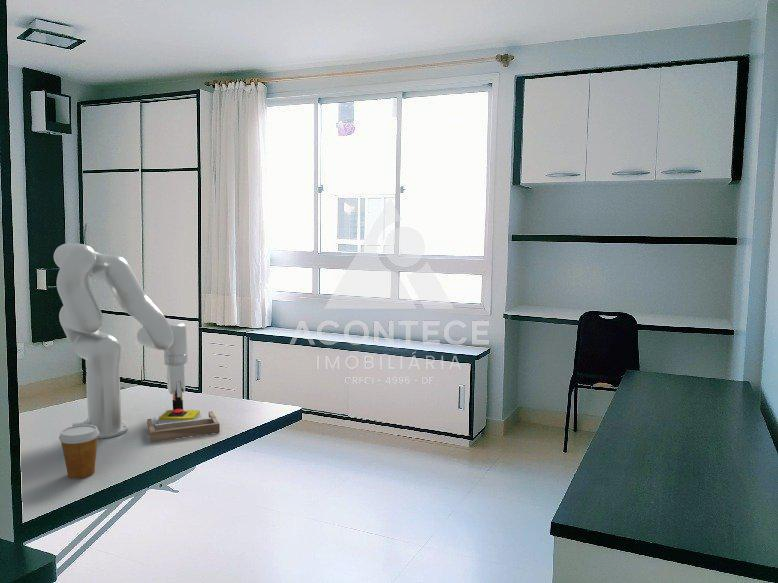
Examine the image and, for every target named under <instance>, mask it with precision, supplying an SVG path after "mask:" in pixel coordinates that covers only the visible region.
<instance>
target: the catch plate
mask: <svg viewBox="0 0 778 583" xmlns="http://www.w3.org/2000/svg"><path fill="white" fill-rule="evenodd" d="M204 424H211V417H210V418H209V417H202V418H199V419H194V420H186V421H178V422H170V423H162V424H159V423H155V424H154V431H157V430H165V429H173V428H181V427H189V426H196V425H204Z"/></svg>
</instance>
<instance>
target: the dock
mask: <svg viewBox="0 0 778 583" xmlns="http://www.w3.org/2000/svg"><path fill="white" fill-rule="evenodd" d="M210 417H211V424H204V425H196V426H189V427H181V428H173V429H165V430H157V431H155V427H154V425H153V424H154V423H153V421H152V418H147V419H146V420H147V422H146V423H147V424H146V425H147V432H148V435H149V436H150V437H149V440H150V443H154V442H155V441H156V442H163V441H162V440H164V441H169V440H170V439H171V440H177V438H179V439H184V438H183V437H186V438H190V436H194V437H198V436H197V435H201V436H205V434H208V435H213V434H212V433H216V434H220V433H219V432H220V430H221V429H220V428H221V427H220V423H219V420H218V419H217V416H216V415H215V414H214V412H213V411H208V418H210ZM156 442H155V443H156Z"/></svg>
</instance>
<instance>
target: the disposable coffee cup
mask: <svg viewBox="0 0 778 583" xmlns="http://www.w3.org/2000/svg"><path fill="white" fill-rule="evenodd" d="M98 436H99V431H98V429H97V427H96V426H94V425H77V426H68V427H66V428H63V429H62V430H61V431H60V434H59V436H58V439H59V441H60V443H61V448H62V452H63V453H62V454H63V458H64V463H65V469H66V473H67V477H68V478H69V479H72V478H75V479H76V478H79V479H85V478H88V477H90V476H93V475H94V474H95V470H96V460H97V459H96V458H97V448H98V439H97V438H98ZM75 479H74V480H75Z"/></svg>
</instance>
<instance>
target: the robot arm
mask: <svg viewBox="0 0 778 583" xmlns="http://www.w3.org/2000/svg"><path fill="white" fill-rule="evenodd" d="M53 261H54V262H55V265H56V266H57V267H58V268H59V270H58V273H57V277H56V289H57V292H58V295H59V298H60V300H61V303H62V306H61V308H60V309H59V310H60V311H59V312H58V313H59V314H58V318H59V323H60V326H61V327H62V330H63V332H64V334H65V336H66V338H67V340H68V342H69V344H70V345H71V348H72V349H73V351H74V353H75V354H76V355H77V356H78V357H79V358H82V359H83V360H85V361H87V369H86V374H85V377H86V378H85V380H86V382H85V384H86V399H87V401H86V402H87V418H86V419H87V420H83V421H82V422H79V421H78V422H72V426H77V425H94V426H96V427H97V429H98V431H99V436H98V438H97V440H98V439H109V438H114V437H117V436H120V435H122V433H123V434H124V433H126V432H127V431H128V425H127V424H125V423H123V422H122V421H123V420H122V419H123V418H122V417H123V416H122V401H121V399H122V398H121V395H122V394H121V381H120V380H121V377H120V371H121V370H120V367H121V366H120V365H121V358H122V346H121V343H120V341H119V340H118V339H117V338H116V337H114V336H113V335H111V334H109V333H105V332H102V331H100V330H101V328H102V326H103V325H104V316H103V313H102V310H101V308H100V306H99V305H98V302H97V300H96V298H95V296H94V294H93V292H92V288H91V287H90V283H89V280H90V279H93V280H99V281H103V282H105V283H106V285H107V286H108V288H109V290H110V291H111V293H112V295H113V296H114V298H115V300H116V301H117V303H118V305H119V307H120V308H121V309H122V310H123V311H125V313H126V314H128V315H129V316H130V317H132V318H134V319H135V320H137V322H138V323H139V324H140V325H141V326H142V327H140V328H139V329H138V331H137V333H136V340H137V341H138V343H139V344H140V345H142V346H144V347H146V348H150V349H154V350H157V351H163V359H164V362H163V363H164V365H165V366H167V367H166V373H167V374H166V375H167V376H166V378H167V379H166V380H167V381H166V382H167V384H166V386H167V387H166V388H167V390H168V393H169V395H172V410H175V409H183V410H184V400H183V394H184V393H185V392H186V373H185V371H186V370H185V365H186V364H187V363H188V341H187V340H188V339H187V336H188V335H187V326H186V324H185V323H184V322H170V323H169V322H168V320H167V318H166V316H165V314H163V312H162V311H161V310H160V309H159V307H157V305H156V304H154V302H153V301H152V300H151V299H150V298H149V296H148V295H147V294H146V292H145V291H144V289H143V287H142V285H141V284H140V281H139V280H138V278H137V276H136V275H135V273H134V271H133V268H132V267H131V266H130V264H129V263H128V261H127V260H126V258H124V257H122V256H119V255H112V254H105V253H100V252H96V251H95V249H93V248H92V247H91V246H90V245H87V244H83V243H73V242H72V243H70V242H69V243H63V244H61V245H59V246H58V247H56V249H55V251H54V253H53ZM89 278H90V279H89ZM72 426H71V427H72Z"/></svg>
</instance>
